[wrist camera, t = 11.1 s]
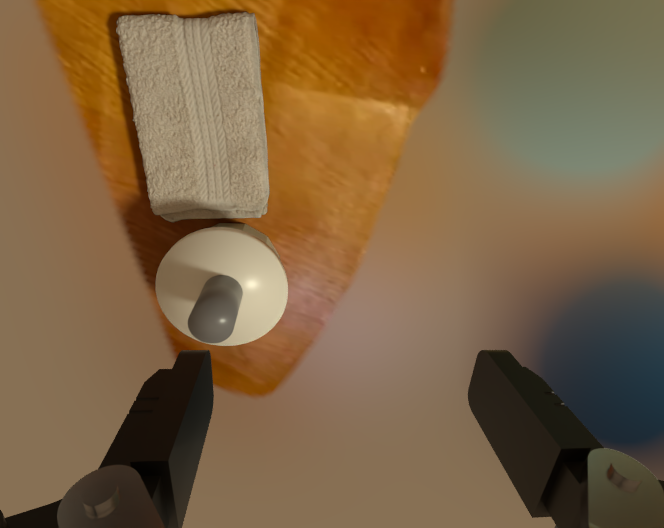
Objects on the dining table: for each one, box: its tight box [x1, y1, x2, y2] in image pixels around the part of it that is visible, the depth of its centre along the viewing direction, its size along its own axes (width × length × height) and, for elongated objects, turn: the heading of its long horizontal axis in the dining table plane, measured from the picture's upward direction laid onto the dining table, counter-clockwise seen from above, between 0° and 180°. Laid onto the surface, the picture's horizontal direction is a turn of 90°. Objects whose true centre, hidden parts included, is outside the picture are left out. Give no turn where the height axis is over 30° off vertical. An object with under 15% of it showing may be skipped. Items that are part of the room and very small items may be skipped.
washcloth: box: [116, 12, 269, 223], centre depth 35 cm, size 12×18×3 cm, turn 1°
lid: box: [155, 227, 288, 346], centre depth 33 cm, size 12×12×7 cm
